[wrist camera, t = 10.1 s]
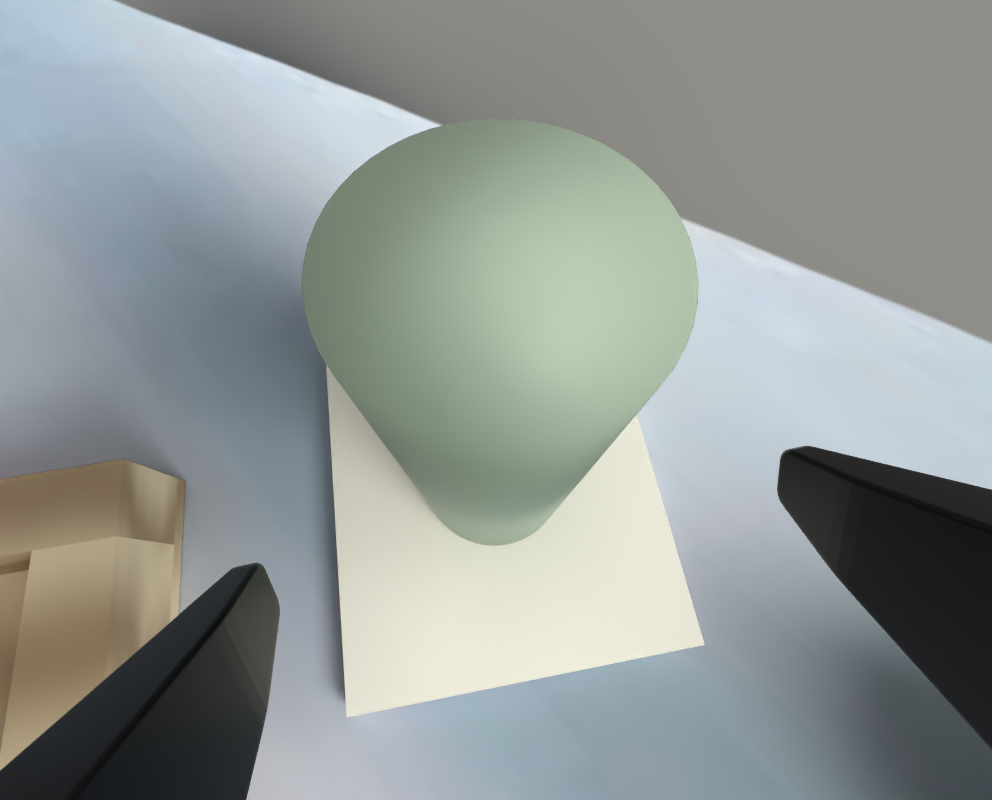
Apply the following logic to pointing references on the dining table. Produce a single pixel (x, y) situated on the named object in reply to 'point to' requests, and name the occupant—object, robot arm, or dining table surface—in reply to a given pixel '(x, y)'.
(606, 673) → the dining table surface
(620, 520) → the tile
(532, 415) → the pin
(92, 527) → the pocket block
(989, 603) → the robot arm
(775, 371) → the dining table surface
